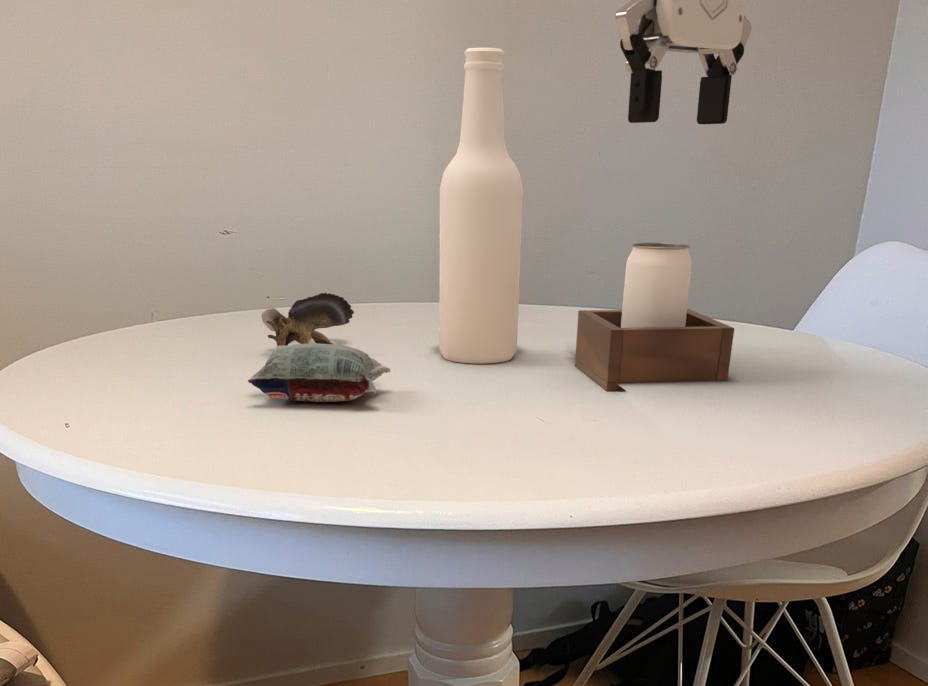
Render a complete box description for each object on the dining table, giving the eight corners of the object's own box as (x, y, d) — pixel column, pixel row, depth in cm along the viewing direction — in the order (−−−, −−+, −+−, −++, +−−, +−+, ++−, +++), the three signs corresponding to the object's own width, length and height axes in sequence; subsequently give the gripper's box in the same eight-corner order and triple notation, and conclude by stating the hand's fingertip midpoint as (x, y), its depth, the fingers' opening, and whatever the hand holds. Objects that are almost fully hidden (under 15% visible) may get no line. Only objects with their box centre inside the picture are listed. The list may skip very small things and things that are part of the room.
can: (634, 359, 106) (645, 240, 100) (690, 367, 102) (704, 244, 97) (606, 369, 101) (616, 245, 96) (664, 377, 98) (677, 249, 92)
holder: (683, 363, 108) (689, 308, 106) (726, 388, 97) (734, 328, 95) (574, 365, 107) (578, 310, 104) (606, 391, 96) (611, 330, 93)
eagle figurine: (308, 353, 106) (367, 328, 111) (273, 294, 104) (334, 270, 110) (279, 381, 112) (335, 356, 117) (245, 325, 111) (304, 302, 116)
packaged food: (273, 385, 97) (269, 334, 94) (391, 389, 96) (390, 337, 93) (248, 407, 89) (243, 352, 87) (376, 412, 88) (375, 356, 86)
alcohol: (531, 355, 112) (545, 50, 98) (488, 367, 105) (496, 43, 92) (468, 346, 116) (473, 54, 103) (423, 358, 110) (422, 47, 96)
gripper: (664, -128, 76) (646, 120, 84) (795, -97, 86) (768, 123, 93) (595, -109, 82) (583, 123, 89) (725, -82, 91) (705, 125, 99)
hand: (678, 123), depth 91 cm, fingers open, 9 cm apart
